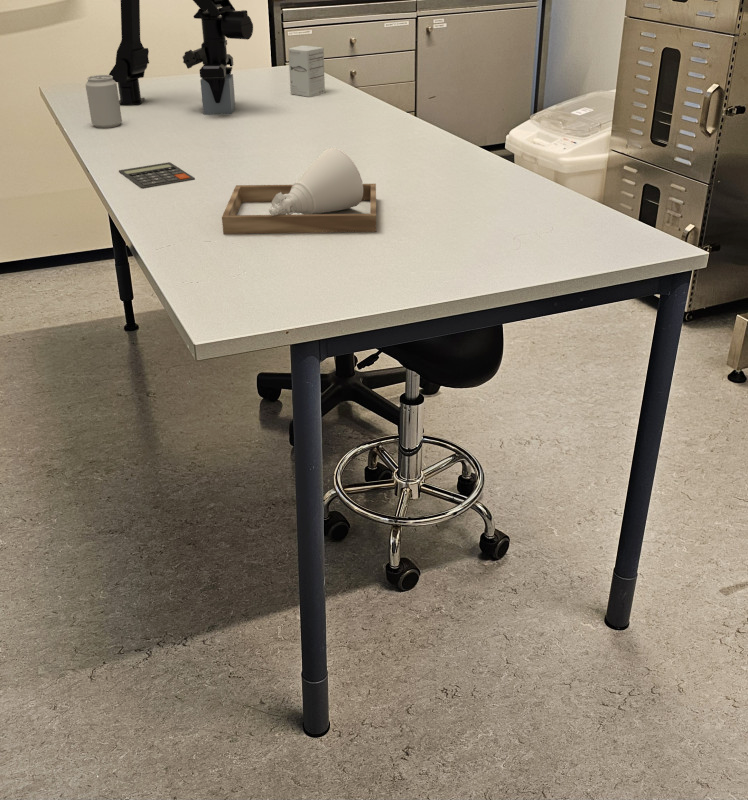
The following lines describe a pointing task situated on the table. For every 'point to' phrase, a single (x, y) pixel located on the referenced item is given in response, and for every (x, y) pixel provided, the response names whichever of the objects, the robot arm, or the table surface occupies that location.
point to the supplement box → (306, 70)
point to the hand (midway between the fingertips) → (219, 99)
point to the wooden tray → (292, 222)
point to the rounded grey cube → (226, 99)
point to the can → (103, 101)
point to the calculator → (156, 175)
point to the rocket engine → (323, 187)
